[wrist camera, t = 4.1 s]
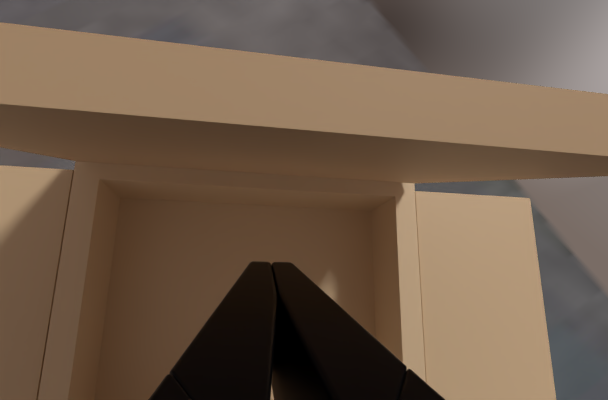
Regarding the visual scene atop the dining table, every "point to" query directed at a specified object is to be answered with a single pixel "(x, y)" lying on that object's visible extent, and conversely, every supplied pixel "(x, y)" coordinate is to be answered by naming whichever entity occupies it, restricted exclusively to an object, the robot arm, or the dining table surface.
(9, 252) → the carton
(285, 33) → the dining table surface
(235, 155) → the flap
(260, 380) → the robot arm
